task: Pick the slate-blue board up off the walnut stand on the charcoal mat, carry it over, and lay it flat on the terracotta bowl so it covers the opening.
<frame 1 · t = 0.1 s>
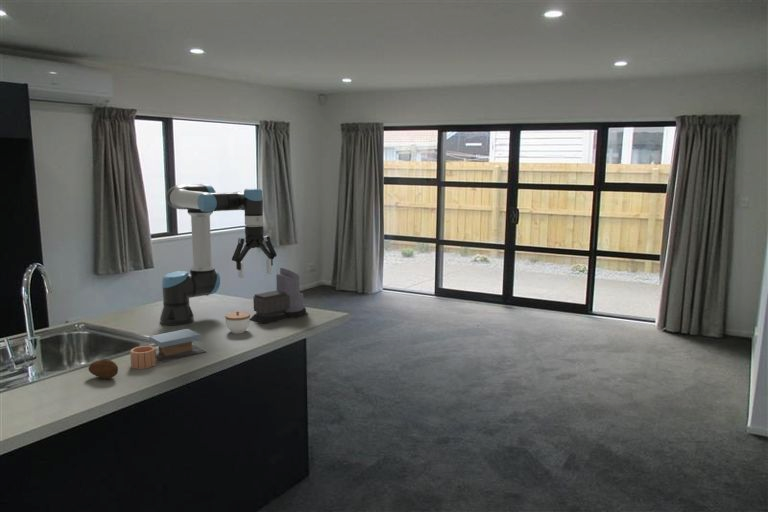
hand: (255, 275, 241), 28 cm above the countertop, fingers open, 13 cm apart
lidded jar: (238, 332, 256), on the countertop
cover board: (175, 340, 226), point 5 cm above the countertop, touching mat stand
bowl: (143, 364, 213), on the countertop
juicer: (281, 317, 283), on the countertop
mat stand: (175, 352, 227), on the countertop
potato: (105, 378, 199), on the countertop
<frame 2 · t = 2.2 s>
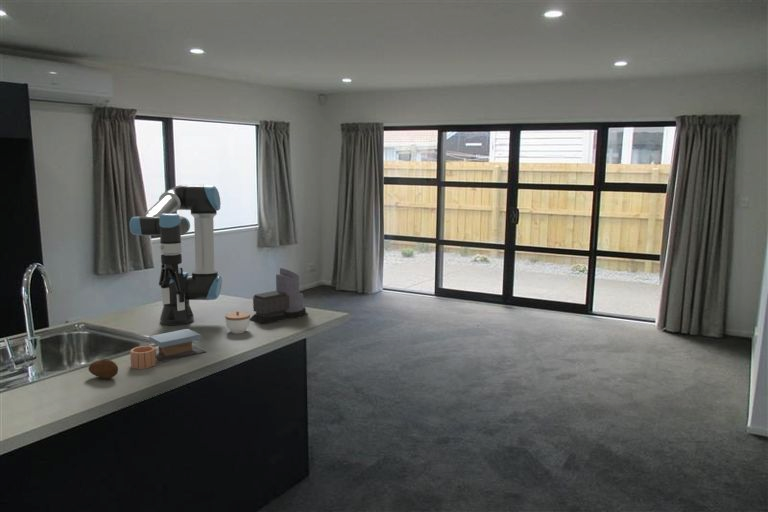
hand: (173, 307, 224), 19 cm above the countertop, fingers open, 13 cm apart
nothing on the countertop moved.
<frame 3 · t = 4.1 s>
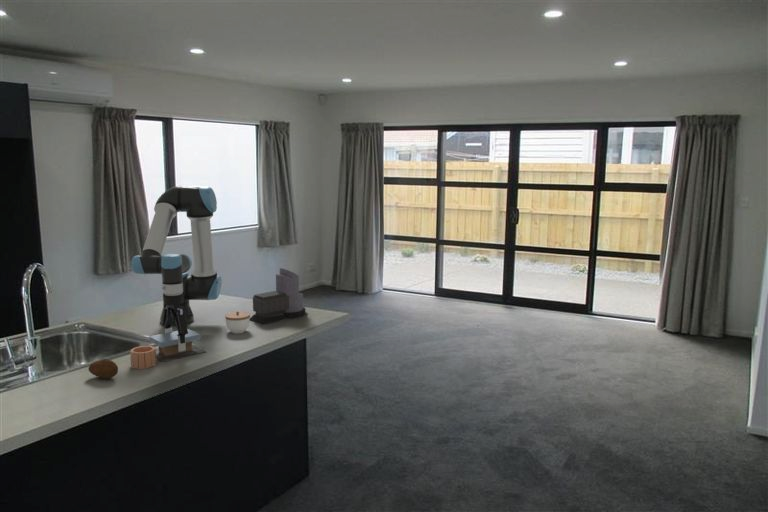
hand: (175, 347, 227), 2 cm above the countertop, fingers closed on cover board, 11 cm apart
cover board: (175, 340, 226), point 5 cm above the countertop, touching gripper, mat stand
everything else where it was.
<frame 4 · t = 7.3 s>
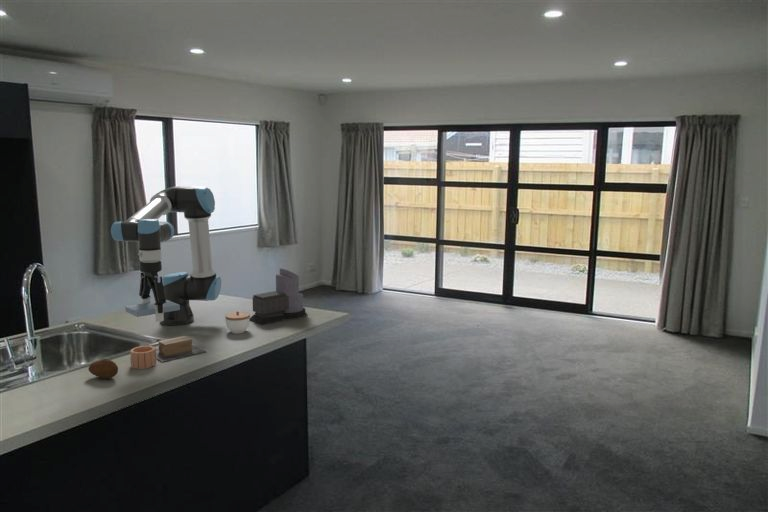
hand: (153, 318, 215), 17 cm above the countertop, fingers closed on cover board, 11 cm apart
cover board: (152, 310, 214), point 20 cm above the countertop, touching gripper
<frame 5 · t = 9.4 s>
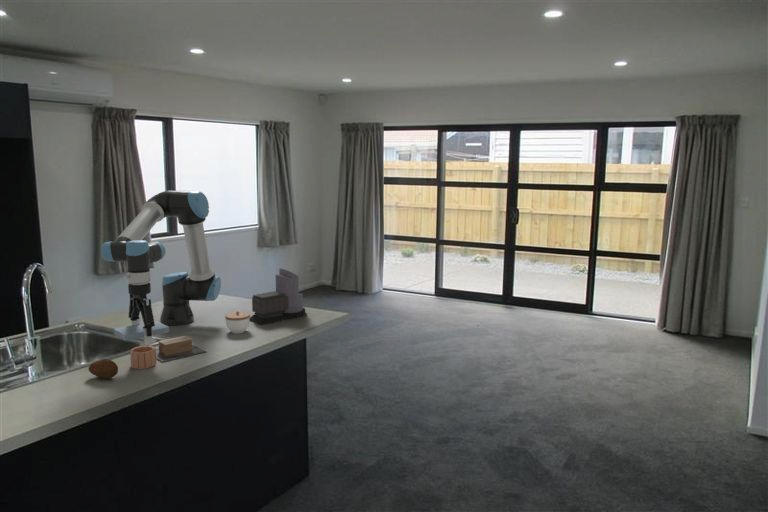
hand: (142, 340, 211), 9 cm above the countertop, fingers closed on cover board, 11 cm apart
cover board: (141, 333, 211), point 12 cm above the countertop, touching gripper
when the fingers open (4 cm above the countertop, at t = 10.9 s): cover board drops 1 cm, resting on bowl.
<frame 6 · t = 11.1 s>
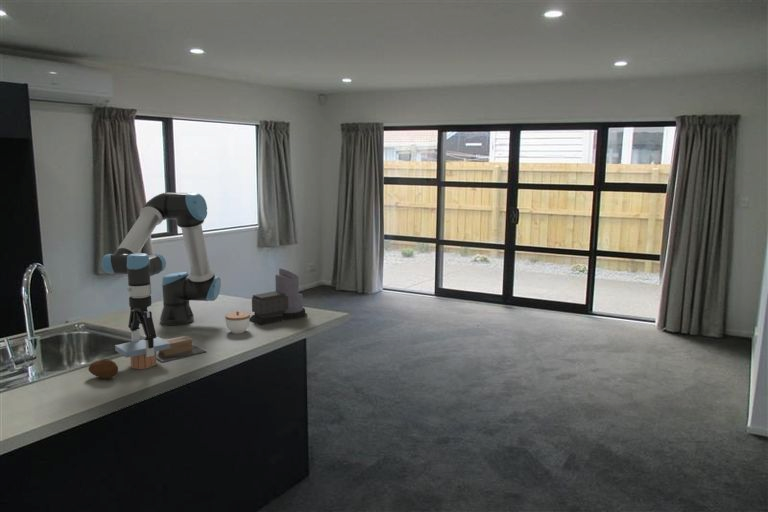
hand: (143, 351, 212), 5 cm above the countertop, fingers open, 13 cm apart
cover board: (143, 349, 212), point 6 cm above the countertop, touching bowl
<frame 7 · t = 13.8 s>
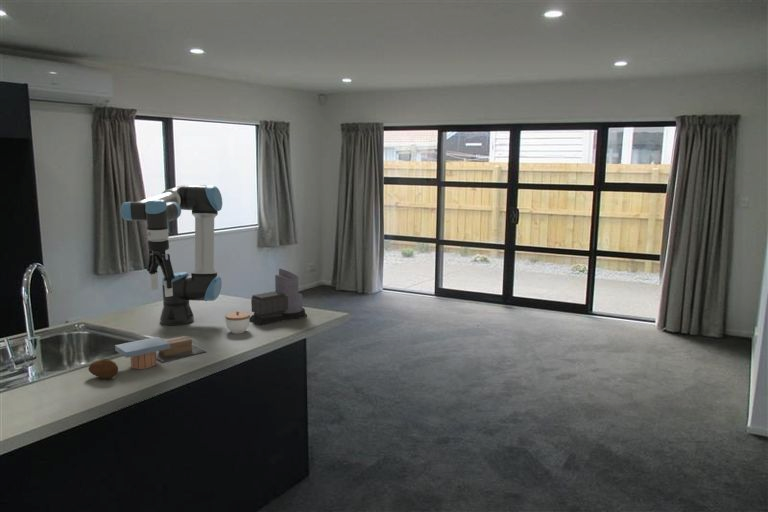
hand: (161, 292, 224), 24 cm above the countertop, fingers open, 13 cm apart
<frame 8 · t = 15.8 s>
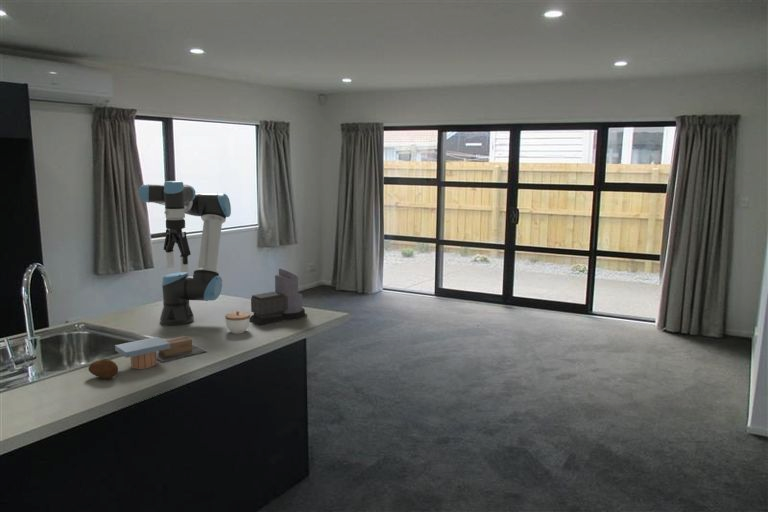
hand: (177, 269, 237), 31 cm above the countertop, fingers open, 13 cm apart
at the end: cover board 0.0 cm off-centre on the bowl, point 6.0 cm above the bowl's base; cover board tilted 0°; the gripper is holding nothing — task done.
